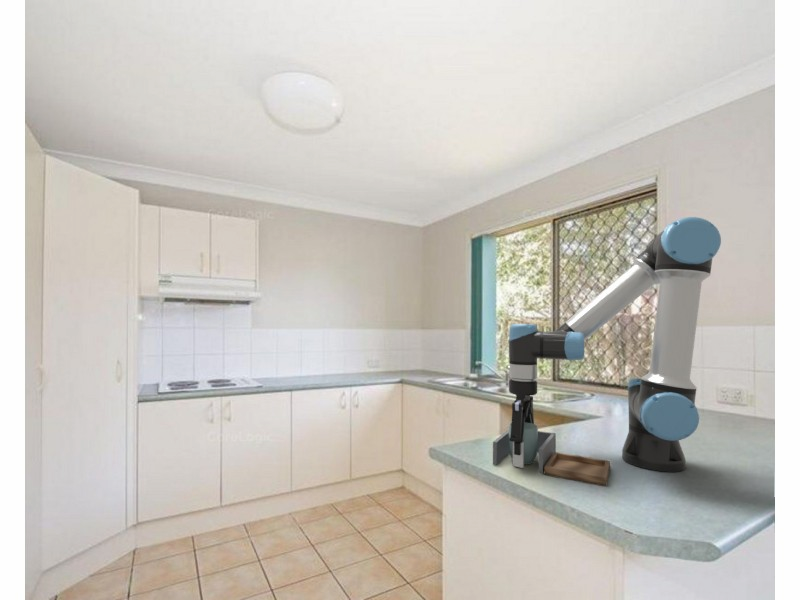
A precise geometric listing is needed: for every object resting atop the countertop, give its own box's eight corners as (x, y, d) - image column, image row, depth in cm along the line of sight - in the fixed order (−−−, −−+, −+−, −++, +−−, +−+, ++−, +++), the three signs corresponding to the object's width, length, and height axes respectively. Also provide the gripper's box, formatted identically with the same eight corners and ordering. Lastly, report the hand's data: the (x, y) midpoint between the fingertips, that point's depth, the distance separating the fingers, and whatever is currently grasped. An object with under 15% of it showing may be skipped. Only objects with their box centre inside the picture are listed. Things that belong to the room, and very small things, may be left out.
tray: (609, 468, 111) (609, 460, 111) (606, 486, 98) (605, 477, 99) (554, 459, 118) (554, 452, 118) (544, 474, 105) (544, 466, 106)
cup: (539, 467, 110) (539, 429, 111) (509, 465, 112) (509, 427, 112) (536, 458, 118) (536, 422, 119) (507, 456, 120) (507, 421, 120)
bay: (555, 454, 122) (555, 433, 122) (542, 473, 106) (542, 449, 106) (511, 446, 129) (511, 427, 129) (492, 464, 113) (492, 441, 113)
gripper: (519, 374, 128) (519, 448, 127) (497, 383, 108) (497, 470, 107) (545, 376, 124) (545, 452, 123) (527, 385, 105) (527, 476, 104)
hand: (523, 461), depth 115 cm, fingers open, 10 cm apart
